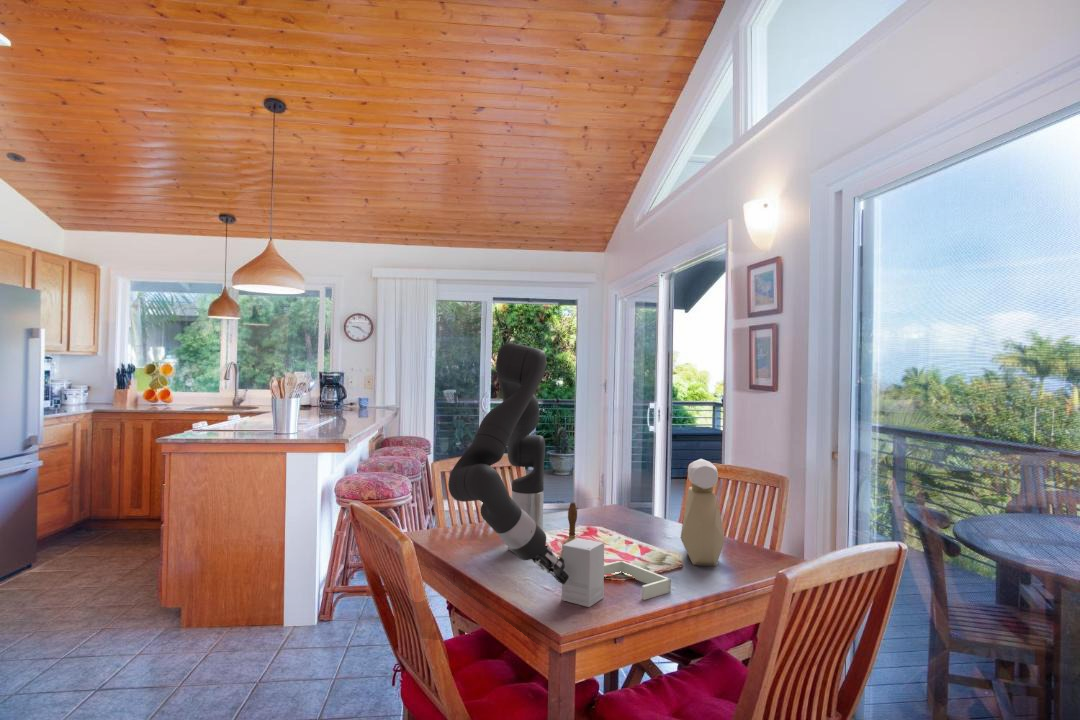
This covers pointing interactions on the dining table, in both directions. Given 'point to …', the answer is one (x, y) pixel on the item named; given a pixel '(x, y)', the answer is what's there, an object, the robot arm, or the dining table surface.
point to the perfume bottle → (702, 516)
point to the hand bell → (571, 523)
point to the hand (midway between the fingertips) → (564, 579)
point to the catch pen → (642, 578)
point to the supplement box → (583, 572)
